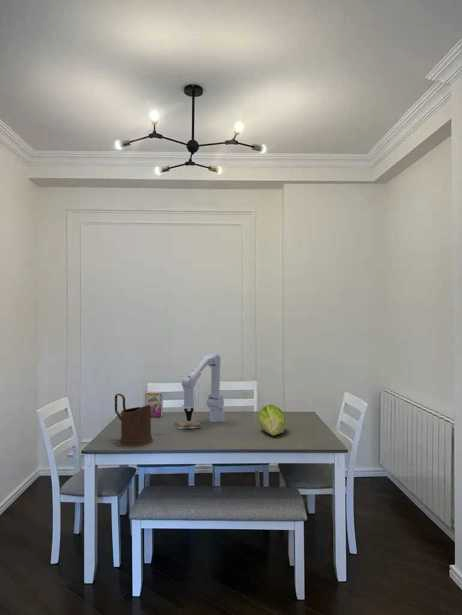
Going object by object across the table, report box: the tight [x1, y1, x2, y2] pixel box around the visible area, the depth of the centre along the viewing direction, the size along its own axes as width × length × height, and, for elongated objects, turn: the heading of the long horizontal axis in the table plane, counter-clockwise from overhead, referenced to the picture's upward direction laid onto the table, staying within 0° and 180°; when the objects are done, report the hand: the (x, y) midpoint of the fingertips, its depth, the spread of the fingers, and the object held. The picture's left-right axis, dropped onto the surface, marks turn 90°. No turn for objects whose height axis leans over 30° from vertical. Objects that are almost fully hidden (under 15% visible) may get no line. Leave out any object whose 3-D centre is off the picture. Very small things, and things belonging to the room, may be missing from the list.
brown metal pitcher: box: [114, 393, 154, 447], centre depth 264 cm, size 18×24×25 cm
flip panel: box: [176, 422, 202, 430], centre depth 291 cm, size 14×1×12 cm
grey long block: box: [174, 420, 204, 426], centre depth 296 cm, size 17×2×3 cm, turn 96°
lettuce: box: [257, 404, 287, 436], centre depth 279 cm, size 15×25×16 cm
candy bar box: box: [144, 391, 164, 418], centre depth 324 cm, size 11×5×16 cm, turn 84°
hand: (188, 420), depth 285 cm, fingers closed
